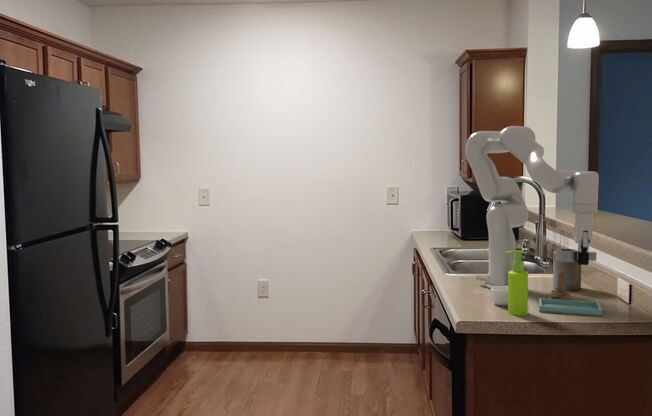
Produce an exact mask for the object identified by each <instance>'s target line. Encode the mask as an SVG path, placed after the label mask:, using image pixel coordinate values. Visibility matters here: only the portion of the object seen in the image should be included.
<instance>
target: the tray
mask: <svg viewBox="0 0 652 416" xmlns="http://www.w3.org/2000/svg"><path fill="white" fill-rule="evenodd" d="M538 308H539V313H551V314H564V315H565V314H566V315H576V316H577V315H581V316H591V315H593V316H595V317H603V308H602V306H601V305H600V302H599V301H593V300H592V301H590V300H561V299H548V298H543V297H541V298H540V297H538ZM593 316H592V317H593Z"/></svg>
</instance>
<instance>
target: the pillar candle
mask: <svg viewBox="0 0 652 416" xmlns="http://www.w3.org/2000/svg"><path fill="white" fill-rule="evenodd" d="M552 255H553V256H552V258H553V265H552V267H553V269H552V270H553V271H552V272H553V273H552V274H553V275H552V284H553V285H552V288H554V290H558V269H564V270H565V279H564V290H567V291H570V292H573V291H574V292H575V291H580V290H582V265H579V264H578V262H561V261H556V250H553V254H552Z"/></svg>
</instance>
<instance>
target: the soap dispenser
mask: <svg viewBox="0 0 652 416" xmlns="http://www.w3.org/2000/svg"><path fill="white" fill-rule="evenodd" d="M505 253H507V254H512V253H515V260H514V261H513V271H509V272H508V306H507V313H508V314H509V315H513V316H521V317H523V316H526V315H528V308H529V307H528V302H529V300H528V299H529V297H528V296H529V272H528V271H525V261H523V259H522V254H525V251H523V250H519V249H517V250H516V249H515V250H511V251H507V252H505Z"/></svg>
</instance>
